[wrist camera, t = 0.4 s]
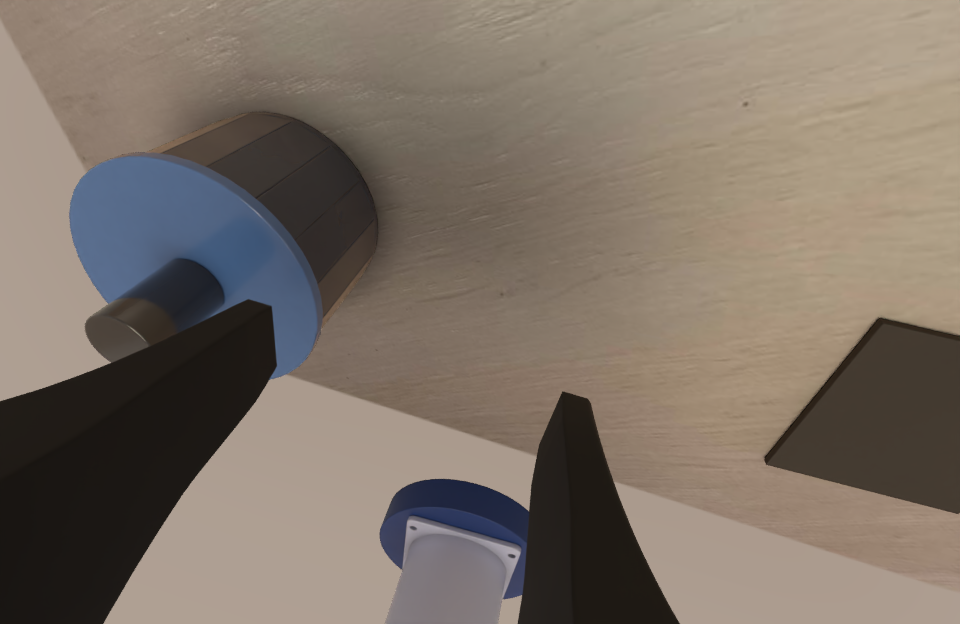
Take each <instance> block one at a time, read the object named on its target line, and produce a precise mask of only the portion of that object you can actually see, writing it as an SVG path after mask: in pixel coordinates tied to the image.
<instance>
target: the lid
mask: <svg viewBox="0 0 960 624" xmlns="http://www.w3.org/2000/svg"><path fill="white" fill-rule="evenodd" d="M69 218H70V229H71V234H72V238H73V242H74V245H75V248H76V251H77V254H78V257H79V259H80V261H81V263H82V265H83V267H84V269H85V271H86V273H87V274H88V276H89V278H90V279H91V281H92V283H93V284H94V286H95V287H96V289H97V290H98V291H99V293H100V294H101V296H102V297H103V298H104V299H105V300H106V302H107V303H108V305H106V306H105V307H103V308H102V309H101V310H99V311H98V312H96V313H95V314H93V315H92V316H90V317H89V318H88V319H87V321H86V323H85V332H86V335H87V337H88V339H89V341H90V343H91V344H92V345H93V347H94V348H95V349H96V350H97V351H98V352H99V353H100V354H101V355H102V356H103V357H104V358H106V359H107V360H108V361H110V362H111V363H112V362H114V361H117V360H119V359H121V358H124V357H126V356H128V355H131V354H133V353H135V352H137V351H140V350H142V349H144V348H147V347H149V346H151V345H154V344H156V343H158V342H160V341H162V340H164V339H167V338H169V337H171V336H173V335H175V334H177V333H179V332H181V331H183V330H185V329H187V328H189V327H192V326H194V325H196V324H198V323H200V322H202V321H204V320H206V319H208V318H210V317H212V316H214V315H216V314H218V313H220V312H222V311H224V310H226V309H228V308H230V307H232V306H234V305H236V304H238V303H241V302H243V301H245V300H247V299H250V300H253V301H257V302H260V303H263V304H267V305H270V306H272V312H273V324H274V336H275V348H276V359H277V367H276V369H275V371H274V372H273V374H272V376H271V378H270V379H274V378H277V377H281V376H283V375H285V374H288V373H290V372H292V371H293V370H295V369H296V368H297V367H299V366H300V365H301V364H302V363H303V362H304V361H305V360H306V359H307V357H308V356H309V355H310V353H311V352H312V350H313V349H314V347H315V346H316V344H317V341H318V339H319V336H320V333H321V328H322V323H323V307H322V300H321V294H320V291H319V287H318V284H317V280H316V278H315V276H314V273H313V271H312V269H311V266H310V264H309V262H308V261H307V259H306V257H305V255H304V253H303V252H302V250H301V248H300V247H299V245H298V244H297V243H296V241H295V240H294V238H293V237H292V235H291V234H290V233H289V232H288V230H287V229H286V228H285V227H284V226H283V225H282V223H281V222H280V221H279V220H278V219H277V218H276V217H275V216H274V215H273V214H272V213H271V212H270V211H269V210H268V209H267V208H266V207H265V206H264V205H263V204H262V203H261V202H259V201H258V200H257V199H256V198H255V197H253V196H252V195H251V194H250V193H248V192H247V191H246V190H245V189H243V188H242V187H240V186H239V185H237V184H236V183H234V182H233V181H231V180H230V179H228V178H226V177H225V176H223V175H221V174H219V173H217V172H215V171H213V170H212V169H210V168H207V167H205V166H203V165H200V164H198V163H195V162H193V161H190V160H187V159H184V158H180V157H177V156H173V155H167V154H161V153H155V152H135V153H129V154H122V155H120V156H117V157H114V158H111V159H109V160H106V161H104V162H101V163H99V164H98V165H96V166H95V167H93V168H91V169H90V170H89V171H88V172H87V173H86V174H85V175H84V176H83V177H82V178H81V179H80V181H79V183H78V184H77V186H76V188H75V189H74V192H73V195H72V199H71V202H70V213H69ZM270 379H269V380H270Z"/></svg>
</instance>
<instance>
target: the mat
mask: <svg viewBox="0 0 960 624" xmlns="http://www.w3.org/2000/svg"><path fill="white" fill-rule="evenodd" d="M765 463H766V465H770V466H774V467H777V468H781V469H785V470H789V471H793V472H797V473H801V474H805V475H809V476H812V477H816V478H820V479H824V480H828V481H832V482H836V483H840V484H844V485H847V486H851V487H855V488H859V489H863V490H867V491H871V492H875V493H879V494H882V495H886V496H890V497H894V498H898V499H902V500H906V501H910V502H913V503H917V504H921V505H925V506H929V507H933V508H937V509H941V510H945V511H948V512H952V513H956V514H959V513H960V337H958V336H954V335H950V334H945V333H941V332H936V331H932V330H928V329H923V328H919V327H915V326H910V325H906V324H902V323H897V322H893V321H889V320H884V319H878V321H877V322H876V323H875V324H874V326H873V327H872V328H871V329H870V330H869V332H868V333H867V334H866V335H865V337H864V338H863V339H862V340H861V341H860V343H859V344H858V345H857V346H856V348H855V349H854V350H853V351H852V352H851V354H850V355H849V356H848V357H847V359H846V360H845V361H844V362H843V363H842V365H841V366H840V367H839V368H838V370H837V371H836V372H835V373H834V374H833V376H832V377H831V378H830V379H829V381H828V382H827V383H826V384H825V385H824V387H823V388H822V389H821V390H820V392H819V393H818V394H817V395H816V396H815V398H814V399H813V400H812V401H811V403H810V404H809V405H808V406H807V407H806V409H805V410H804V411H803V412H802V414H801V415H800V416H799V417H798V418H797V420H796V421H795V422H794V423H793V425H792V426H791V427H790V428H789V429H788V431H787V432H786V433H785V434H784V436H783V437H782V438H781V439H780V440H779V442H778V443H777V444H776V445H775V447H774V448H773V449H772V450H771V451H770V453H769V454H768V455H767V456H766V458H765Z"/></svg>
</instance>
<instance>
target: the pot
mask: <svg viewBox="0 0 960 624" xmlns="http://www.w3.org/2000/svg"><path fill="white" fill-rule="evenodd" d="M147 152H155V153H161V154H167V155H173V156H177V157H180V158H184V159H187V160H190V161H193V162H195V163H198V164H200V165H203V166H205V167H207V168H210V169H212V170H213V171H215V172H217V173H219V174H221V175H223V176H225V177H226V178H228V179H230V180H231V181H233V182H234V183H236V184H237V185H239V186H240V187H242V188H243V189H245V190H246V191H247V192H248V193H250V194H251V195H252V196H253V197H255V198H256V199H257V200H258V201H259V202H261V203H262V204H263V205H264V206H265V207H266V208H267V209H268V210H269V211H270V212H271V213H272V214H273V215H274V216H275V217H276V218H277V219H278V220H279V221H280V222H281V223H282V225H283V226H284V227H285V228H286V229H287V230H288V232H289V233H290V234H291V235H292V237H293V238H294V240H295V241H296V243H297V244H298V245H299V247H300V248H301V250H302V252H303V253H304V255H305V257H306V259H307V261H308V262H309V264H310V266H311V269H312V271H313V273H314V276H315V278H316V280H317V284H318V287H319V291H320V294H321V300H322V307H323V323H322V328H323V327H324V325H325V324H326V323H327V321H328V320H329V319H330V317H331V316H332V315H333V314H334V312H335V311H336V310H337V308H338V307H339V306H340V304H341V303H342V302H343V300H344V299H345V298H346V296H347V295H348V294H349V293H350V291H351V290H352V289H353V287H354V286H355V285H356V283H357V282H358V281H359V279H360V278H361V277H362V275H363V273H364V271H365V269H366V268H367V266H368V265H369V263H370V262H371V259H372V257H373V255H374V253H375V249H376V245H377V237H378V223H377V216H376V210H375V206H374V203H373V200H372V197H371V194H370V192H369V190H368V188H367V185H366V183H365V182H364V180H363V178H362V176H361V175H360V173H359V171H358V170H357V169H356V167H355V166H354V165H353V163H352V162H351V161H350V159H349V158H348V157H347V156H346V155H345V154H344V153H343V152H342V151H341V149H339V148H338V147H337V146H336V145H335V144H334V143H333V142H332V141H331V140H329V139H328V138H327V137H325V136H324V135H323V134H321V133H320V132H318V131H317V130H315V129H314V128H312V127H310V126H308V125H307V124H305V123H302V122H300V121H298V120H295V119H293V118H290V117H287V116H283V115H280V114H275V113H268V112H250V113H244V114H240V115H237V116H234V117H231V118H227V119H223V120H220V121H217V122H215V123H213V124H210V125H208V126H206V127H203V128H201V129H199V130H196V131H194V132H192V133H189V134H187V135H185V136H182V137H180V138H178V139H175V140H173V141H171V142H168V143H166V144H164V145H161V146H159V147H157V148H154V149H152V150H150V151H147ZM322 328H321V329H322Z"/></svg>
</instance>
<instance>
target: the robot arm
mask: <svg viewBox="0 0 960 624" xmlns="http://www.w3.org/2000/svg"><path fill="white" fill-rule="evenodd" d="M276 367H277V359H276V348H275V336H274V324H273V312H272V306H270V305H267V304H263V303H260V302H257V301H253V300H250V299H247V300H245V301H243V302H241V303H238V304H236V305H234V306H232V307H230V308H228V309H226V310H224V311H222V312H220V313H218V314H216V315H214V316H212V317H210V318H208V319H206V320H204V321H202V322H200V323H198V324H196V325H194V326H192V327H189V328H187V329H185V330H183V331H181V332H179V333H177V334H175V335H173V336H171V337H169V338H167V339H164V340H162V341H160V342H158V343H156V344H154V345H151V346H149V347H147V348H144V349H142V350H140V351H137V352H135V353H133V354H131V355H128V356H126V357H124V358H121V359H119V360H117V361H114V362H112V363H110V364H107V365H105V366H103V367H100V368H97V369H95V370H93V371H90V372H87V373H84V374H82V375H79V376H76V377H74V378H71V379H68V380H65V381H62V382H60V383H57V384H54V385H51V386H48V387H46V388H42V389H39V390H36V391H33V392H30V393H26V394H23V395H20V396H16V397H13V398H10V399H7V400H3V401H0V624H103V623H104V621H105V619H106V618H107V616H108V614H109V612H110V611H111V609H112V607H113V606H114V604H115V602H116V601H117V599H118V597H119V595H120V594H121V592H122V590H123V589H124V587H125V585H126V583H127V582H128V580H129V578H130V576H131V575H132V573H133V571H134V569H135V568H136V566H137V565H138V563H139V562H140V560H141V558H142V557H143V555H144V553H145V552H146V550H147V549H148V547H149V545H150V544H151V542H152V541H153V539H154V537H155V536H156V534H157V533H158V531H159V529H160V528H161V526H162V525H163V523H164V522H165V520H166V519H167V517H168V516H169V514H170V513H171V511H172V509H173V508H174V507H175V505H176V503H177V502H178V501H179V499H180V498H181V496H182V495H183V493H184V492H185V490H186V489H187V488H188V486H189V485H190V483H191V482H192V481H193V480H194V478H195V477H196V476H197V474H198V473H199V472H200V471H201V469H202V468H203V467H204V465H205V464H206V463H207V462H208V460H209V459H210V458H211V457H212V456H213V454H214V453H215V452H216V451H217V449H218V448H219V447H220V446H221V444H222V443H223V442H224V441H225V439H226V438H227V437H228V436H229V435H230V433H231V432H232V431H233V430H234V428H235V427H236V426H237V425H238V423H239V422H240V421H241V420H242V418H243V417H244V416H245V415H246V413H247V412H248V411H249V410H250V408H251V407H252V406H253V404H254V403H255V402H256V400H257V399H258V397H259V396H260V394H261V392H262V391H263V389H264V388H265V386H266V384H267V382H268V381H269V379H270V378H271V376H272V374H273V372H274V371H275V369H276ZM520 554H521V547H520V546H519V545H517V544H515V543H511V542H507V541H504V540H500V539H497V538H493V537H490V536H486V535H483V534H479V533H475V532H472V531H468V530H465V529H461V528H458V527H454V526H451V525H447V524H443V523H440V522H436V521H433V520H429V519H426V518H422V517H419V516H414V515H412V516H409V518H408V521H407V527H406V537H405V548H404V558H403V568H402V573H401V576H400V579H399V582H398V585H397V588H396V591H395V594H394V597H393V600H392V603H391V606H390V609H389V612H388V615H387V618H386V621H385V624H498V620H499V615H500V608H501V603H502V599H503V597H504V594H505V592H506V589H507V587H508V584H509V582H510V579H511V577H512V574H513V572H514V569H515V567H516V564H517V562H518V559H519V556H520ZM518 624H680V623H679V622H678V620H677V618H676V616H675V615H674V613H673V611H672V610H671V608H670V606H669V604H668V602H667V601H666V598H665V597H664V595H663V593H662V591H661V589H660V587H659V585H658V583H657V581H656V579H655V577H654V575H653V573H652V572H651V569H650V567H649V565H648V563H647V561H646V559H645V557H644V555H643V553H642V551H641V548H640V546H639V544H638V542H637V540H636V537H635V535H634V533H633V530H632V528H631V526H630V523H629V521H628V518H627V516H626V514H625V511H624V509H623V506H622V503H621V501H620V498H619V496H618V493H617V490H616V487H615V484H614V482H613V479H612V476H611V473H610V470H609V467H608V464H607V461H606V458H605V455H604V452H603V448H602V445H601V442H600V438H599V435H598V431H597V427H596V423H595V419H594V415H593V411H592V407H591V403H590V401H589V400H588V399H587V398H583V397H580V396H576V395H573V394H570V393H566V392H562V394H561V396H560V398H559V401H558V403H557V405H556V408H555V410H554V412H553V414H552V417H551V419H550V421H549V424H548V426H547V428H546V430H545V433H544V435H543V437H542V440H541V442H540V444H539V448H538V453H537V459H536V464H535V469H534V474H533V480H532V485H531V497H530V510H529V522H528V535H527V548H526V561H525V574H524V584H523V593H522V601H521V607H520V613H519V619H518Z"/></svg>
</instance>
